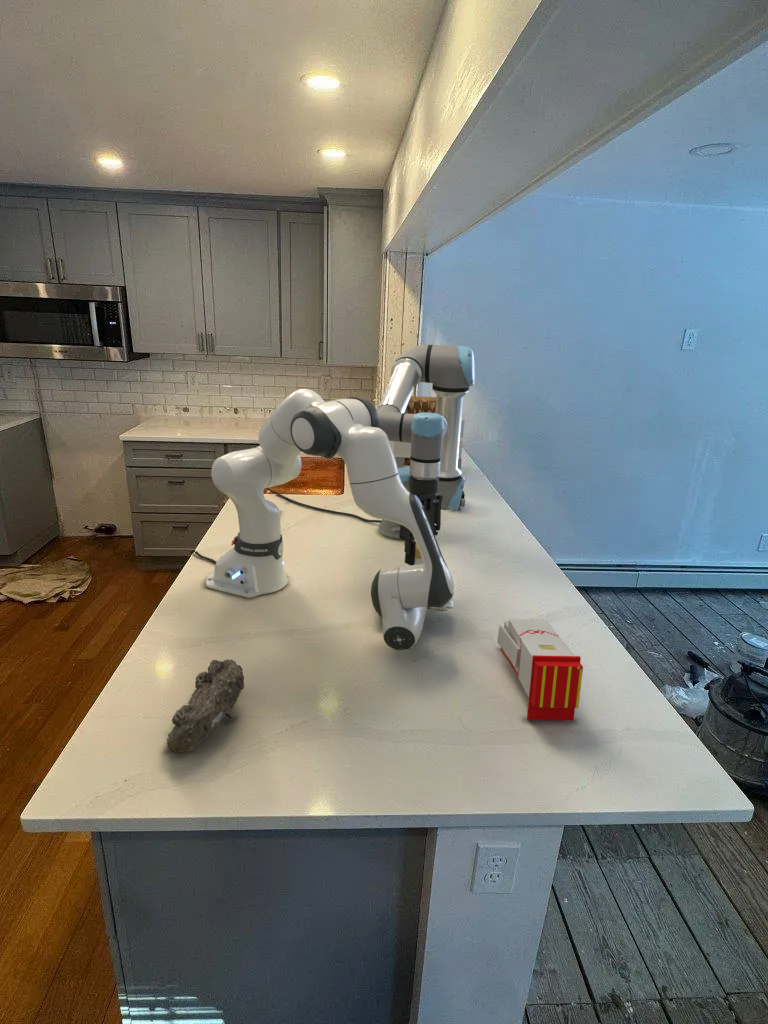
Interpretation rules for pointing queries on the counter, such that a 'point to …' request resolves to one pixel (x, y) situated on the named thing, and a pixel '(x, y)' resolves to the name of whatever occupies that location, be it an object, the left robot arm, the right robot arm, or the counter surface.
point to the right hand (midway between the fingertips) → (418, 560)
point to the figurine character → (462, 501)
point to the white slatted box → (404, 449)
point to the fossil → (206, 705)
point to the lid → (417, 552)
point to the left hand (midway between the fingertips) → (417, 580)
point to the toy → (542, 668)
